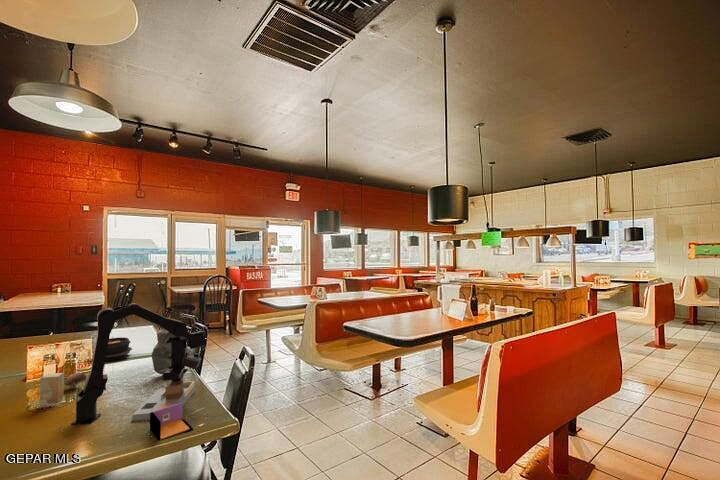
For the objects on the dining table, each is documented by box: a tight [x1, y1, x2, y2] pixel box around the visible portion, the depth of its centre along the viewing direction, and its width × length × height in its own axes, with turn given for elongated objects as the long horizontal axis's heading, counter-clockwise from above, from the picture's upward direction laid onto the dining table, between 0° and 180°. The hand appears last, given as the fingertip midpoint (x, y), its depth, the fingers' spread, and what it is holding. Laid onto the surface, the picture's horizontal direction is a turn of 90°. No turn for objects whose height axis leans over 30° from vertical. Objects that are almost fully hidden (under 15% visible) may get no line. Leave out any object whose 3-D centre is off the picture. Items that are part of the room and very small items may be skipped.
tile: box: [156, 403, 175, 410], centre depth 130 cm, size 5×5×2 cm
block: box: [164, 380, 184, 400], centre depth 139 cm, size 5×5×5 cm
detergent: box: [151, 327, 175, 375], centre depth 172 cm, size 13×7×25 cm, turn 124°
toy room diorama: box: [149, 403, 194, 441], centre depth 117 cm, size 12×12×7 cm
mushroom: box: [64, 372, 87, 390], centre depth 155 cm, size 8×8×6 cm
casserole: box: [105, 337, 133, 359], centre depth 204 cm, size 25×19×8 cm
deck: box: [131, 380, 196, 421], centre depth 137 cm, size 24×14×4 cm, turn 9°
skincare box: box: [38, 372, 65, 408], centre depth 138 cm, size 6×4×12 cm
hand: (178, 388), depth 143 cm, fingers closed
